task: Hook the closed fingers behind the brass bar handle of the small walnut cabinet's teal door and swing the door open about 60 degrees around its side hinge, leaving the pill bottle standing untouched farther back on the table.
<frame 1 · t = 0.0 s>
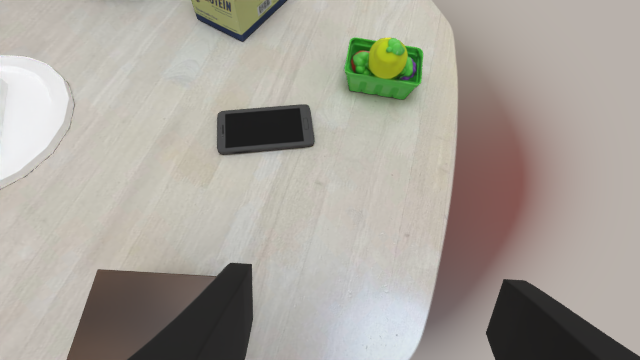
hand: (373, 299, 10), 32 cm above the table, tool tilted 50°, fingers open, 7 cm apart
cell phone: (265, 130, 50), on the table
cabinet: (180, 334, 37), on the table
protein box: (246, 8, 62), on the table
fruit basket: (377, 87, 55), on the table
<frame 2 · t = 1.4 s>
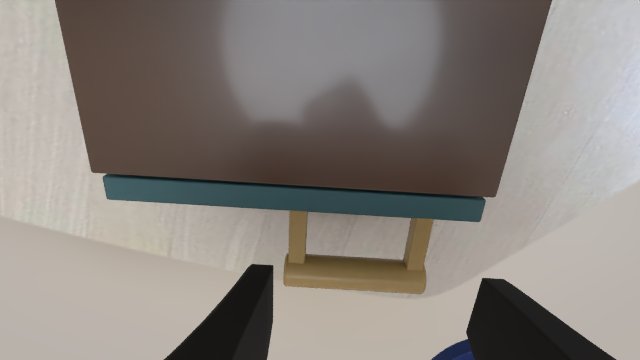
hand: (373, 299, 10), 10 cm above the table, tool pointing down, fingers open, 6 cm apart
cabinet: (313, 18, 16), on the table
cabinet door: (300, 209, 15), point 5 cm above the table, hinge at 0.0°
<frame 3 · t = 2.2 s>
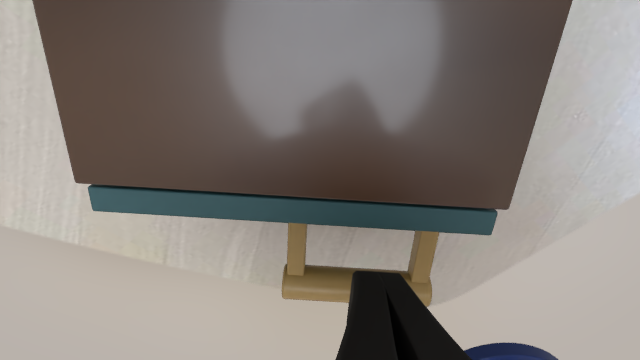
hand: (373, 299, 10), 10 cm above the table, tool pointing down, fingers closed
cabinet: (313, 18, 16), on the table
cabinet door: (300, 217, 15), point 4 cm above the table, hinge at 0.0°
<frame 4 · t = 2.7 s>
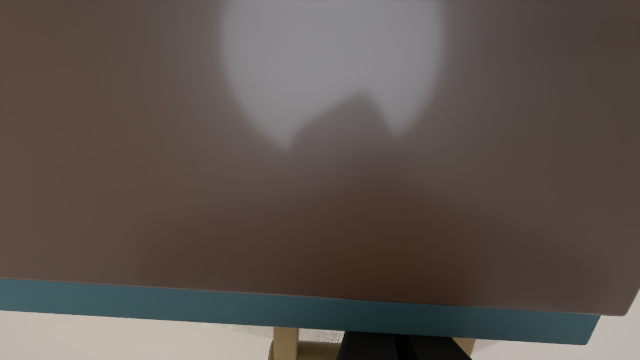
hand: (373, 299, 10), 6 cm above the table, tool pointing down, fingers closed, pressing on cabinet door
cabinet: (310, 11, 12), on the table
cabinet door: (292, 275, 11), point 5 cm above the table, hinge at -0.1°, touching gripper
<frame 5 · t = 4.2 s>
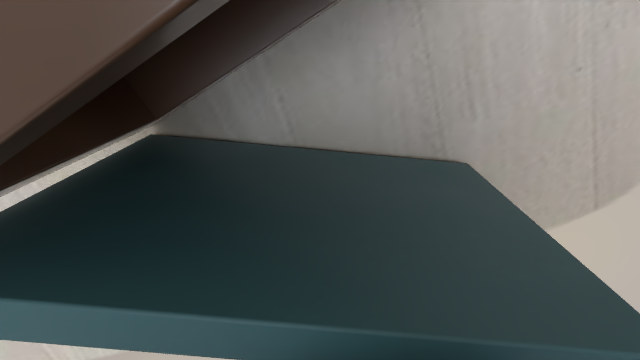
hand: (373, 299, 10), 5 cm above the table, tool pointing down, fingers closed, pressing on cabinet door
cabinet door: (294, 287, 10), point 4 cm above the table, hinge at 35.9°, touching gripper
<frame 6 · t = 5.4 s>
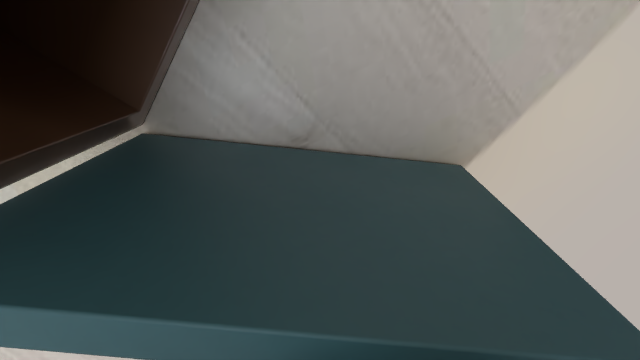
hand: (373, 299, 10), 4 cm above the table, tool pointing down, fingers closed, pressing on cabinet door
cabinet door: (285, 289, 10), point 5 cm above the table, hinge at 62.3°, touching gripper
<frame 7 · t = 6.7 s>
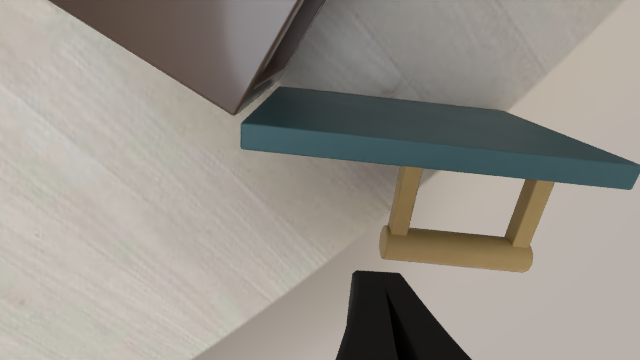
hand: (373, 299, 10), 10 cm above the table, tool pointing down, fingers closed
cabinet door: (397, 181, 15), point 5 cm above the table, hinge at 62.5°
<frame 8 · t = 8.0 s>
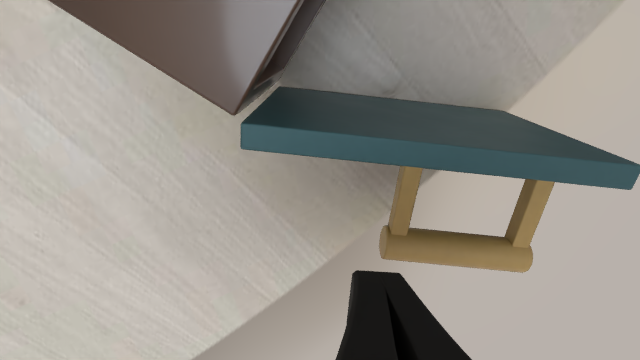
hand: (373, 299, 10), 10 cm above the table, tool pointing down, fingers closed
cabinet door: (397, 181, 15), point 4 cm above the table, hinge at 62.5°
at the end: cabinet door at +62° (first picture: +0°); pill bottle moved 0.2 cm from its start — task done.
